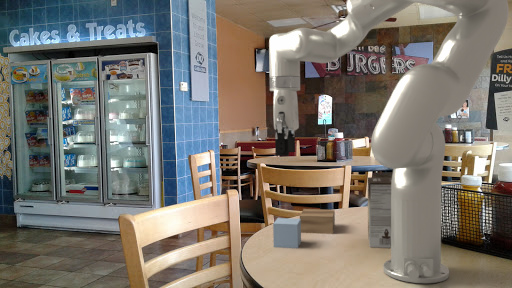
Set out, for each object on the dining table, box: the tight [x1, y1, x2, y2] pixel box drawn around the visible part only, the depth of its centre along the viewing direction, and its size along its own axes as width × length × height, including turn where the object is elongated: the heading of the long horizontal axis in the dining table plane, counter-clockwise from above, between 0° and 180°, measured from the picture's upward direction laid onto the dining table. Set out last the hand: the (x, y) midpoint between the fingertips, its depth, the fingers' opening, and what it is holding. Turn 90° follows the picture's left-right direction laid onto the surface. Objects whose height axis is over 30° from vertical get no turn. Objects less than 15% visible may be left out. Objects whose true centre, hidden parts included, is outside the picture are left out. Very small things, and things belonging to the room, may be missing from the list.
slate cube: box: [272, 217, 302, 249], centre depth 114 cm, size 6×6×6 cm
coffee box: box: [367, 176, 392, 249], centre depth 113 cm, size 9×6×16 cm
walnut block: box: [299, 208, 336, 235], centre depth 128 cm, size 9×9×5 cm
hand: (285, 153), depth 113 cm, fingers open, 9 cm apart
